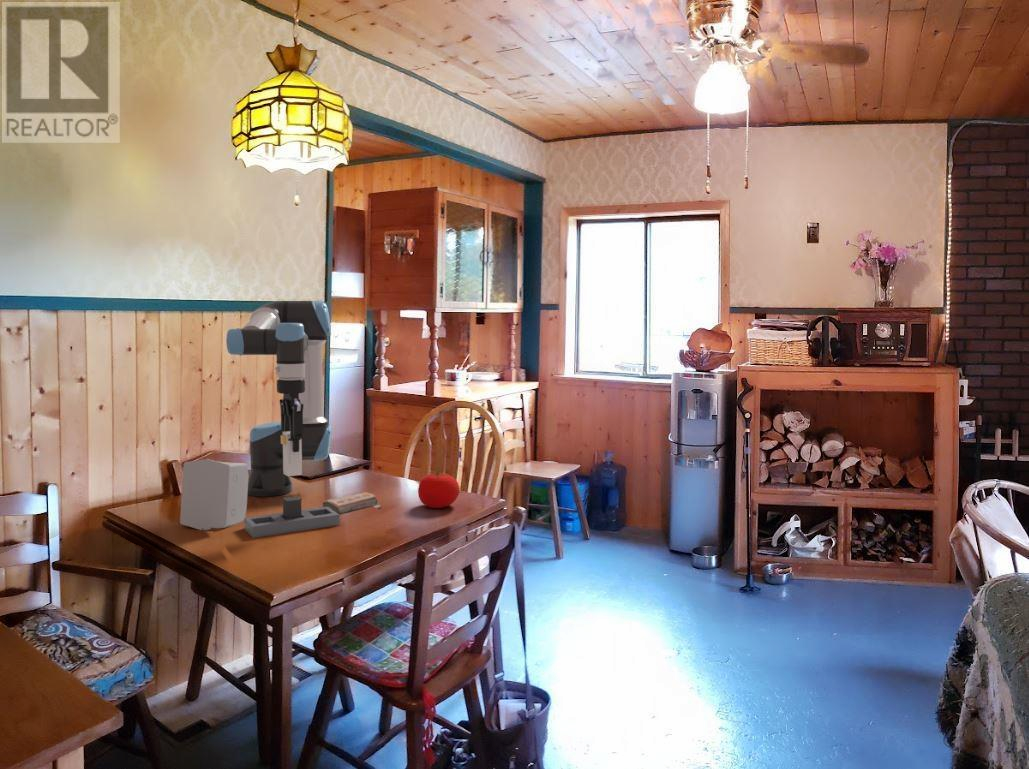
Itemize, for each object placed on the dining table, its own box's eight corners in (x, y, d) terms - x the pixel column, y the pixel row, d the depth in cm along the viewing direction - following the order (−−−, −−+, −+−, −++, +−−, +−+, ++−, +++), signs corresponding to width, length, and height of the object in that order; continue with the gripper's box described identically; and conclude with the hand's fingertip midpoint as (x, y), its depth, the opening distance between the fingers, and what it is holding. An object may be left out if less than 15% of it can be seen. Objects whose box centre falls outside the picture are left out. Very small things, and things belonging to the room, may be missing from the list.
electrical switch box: (255, 525, 225) (259, 458, 226) (225, 532, 211) (229, 460, 211) (211, 521, 228) (215, 455, 229) (179, 528, 214) (183, 457, 215)
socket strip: (243, 531, 211) (243, 517, 211) (328, 519, 225) (328, 506, 224) (252, 541, 203) (252, 527, 202) (340, 528, 216) (340, 514, 215)
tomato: (423, 500, 247) (423, 467, 246) (462, 503, 245) (462, 469, 244) (413, 510, 236) (413, 475, 234) (454, 512, 234) (454, 477, 233)
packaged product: (361, 489, 244) (382, 494, 238) (361, 503, 244) (382, 509, 238) (314, 499, 230) (335, 505, 224) (315, 515, 231) (335, 521, 224)
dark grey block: (283, 525, 214) (282, 498, 213) (297, 523, 216) (296, 496, 215) (287, 529, 211) (286, 501, 210) (301, 527, 213) (301, 499, 212)
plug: (280, 474, 212) (279, 431, 211) (297, 472, 215) (296, 430, 214) (284, 476, 209) (284, 433, 208) (302, 474, 212) (301, 432, 210)
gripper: (268, 376, 214) (269, 457, 217) (286, 381, 200) (288, 468, 203) (294, 375, 218) (295, 455, 221) (314, 380, 204) (315, 465, 207)
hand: (292, 461), depth 212 cm, fingers closed on plug, 4 cm apart
